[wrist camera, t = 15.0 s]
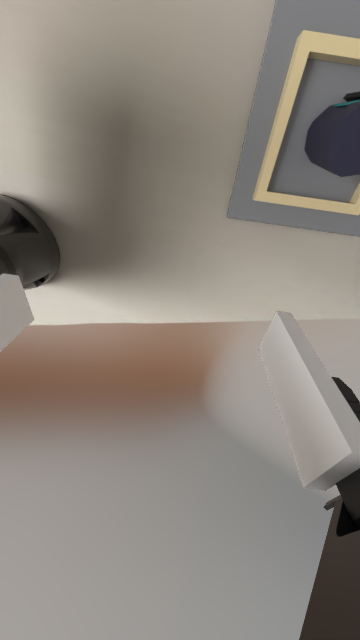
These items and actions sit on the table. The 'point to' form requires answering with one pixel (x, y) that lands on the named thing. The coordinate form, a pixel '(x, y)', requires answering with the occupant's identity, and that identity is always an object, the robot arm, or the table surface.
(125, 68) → the table surface
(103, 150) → the table surface
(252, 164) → the mount board
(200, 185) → the table surface
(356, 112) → the speaker
